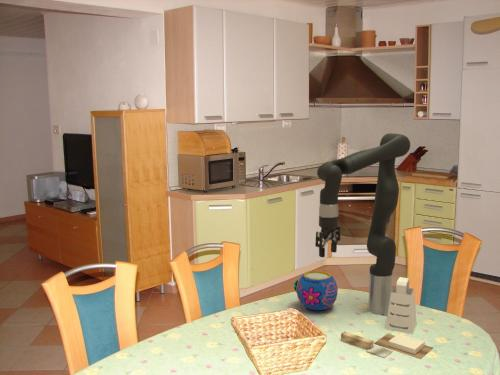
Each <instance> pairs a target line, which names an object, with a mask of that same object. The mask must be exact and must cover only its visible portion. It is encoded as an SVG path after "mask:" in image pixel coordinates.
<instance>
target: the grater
mask: <svg viewBox="0 0 500 375" xmlns="http://www.w3.org/2000/svg"><path fill="white" fill-rule="evenodd" d="M390 312H391V313H390ZM417 323H418V322H417V311H416V297H415V288H411V287H410V278H408V277H403V276H402V277H401V276H400V277H398V279H397V281H396V285H394V287H392V292H391V297H390V303H389V309H388V315H387V316H386V323H385V328H384V329H385V330H388V331H392V332H393V331H394V332H399V333H405V334H409V335H410V334H411V335H413V334H414V332H415V330H416V326H417V325H418V324H417ZM395 326H396V327H395Z"/></svg>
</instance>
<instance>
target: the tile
mask: <svg viewBox="0 0 500 375" xmlns="http://www.w3.org/2000/svg"><path fill="white" fill-rule="evenodd" d="M394 336H395V337H394V338H392V339H391V340H389V341H388V346H390V347H393V348H396V349H399V350H402V351H405V352H408V353H411V354H414V355H415V354H416V353H417V352H418V351H420V350H421V349H422V348H423V347H424V345H426V344H425V341H423V340H421V339H417V338H414V337H410V336H408V335H403V334H401V333H398V334H396V335H394Z"/></svg>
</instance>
